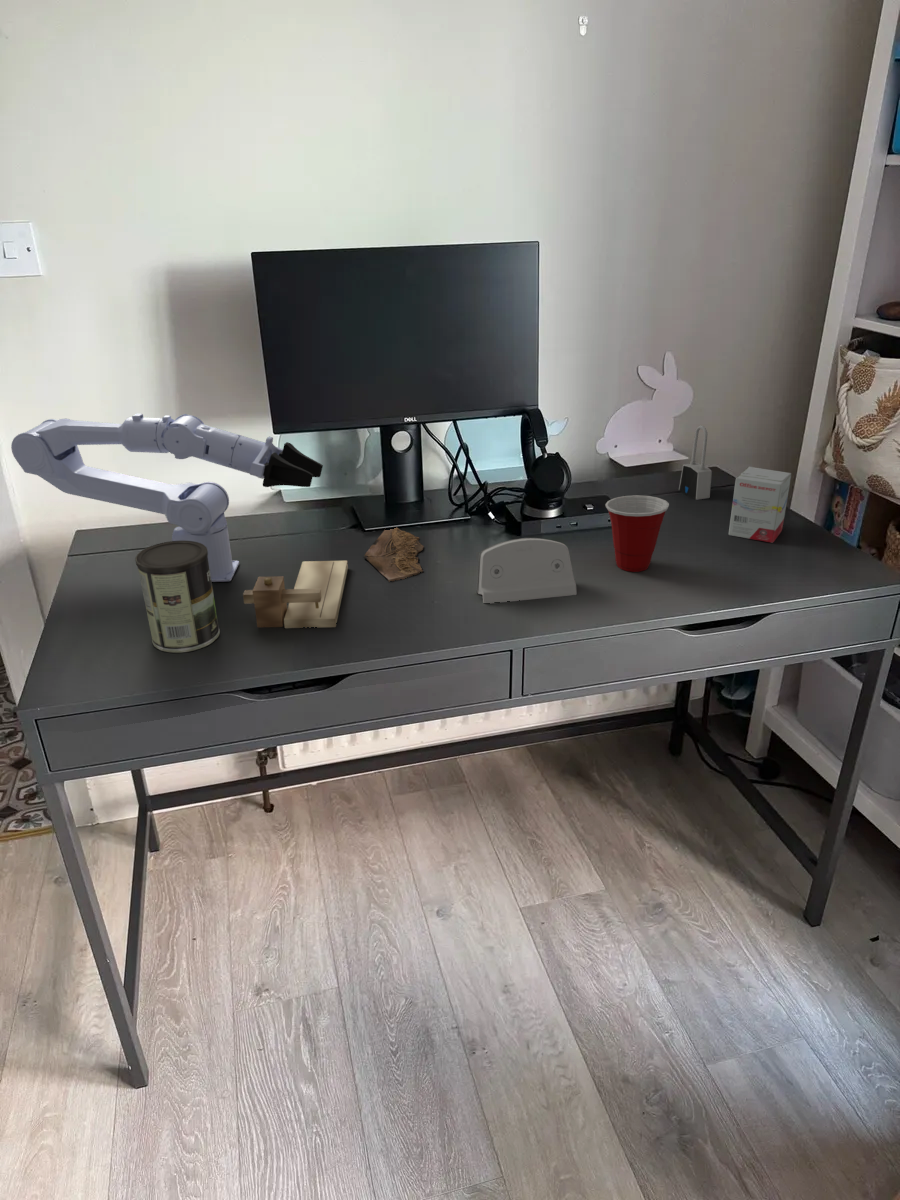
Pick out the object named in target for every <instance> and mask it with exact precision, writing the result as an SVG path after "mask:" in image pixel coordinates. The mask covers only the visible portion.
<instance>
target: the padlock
mask: <svg viewBox="0 0 900 1200" xmlns="http://www.w3.org/2000/svg"><path fill="white" fill-rule="evenodd" d="M700 430H702V432H703V442H702V444H703V445H702V452H701V461H700V462H701V463H699V462H696V455H697V444H698V438H699V437H698V436H699V432H700ZM707 443H708V429H706V427H705V426H704V425H698V426H697V427H696V429H695V432H694V438H693V445H692V455H691V460H690V463H685V464H683V465H682V469H681V474H680V480H679V486H678V491H680V492H681V493H682V494H683V495H686V496H687V497H690V498H692V499H694V500H696V501H697V500H702V499H703V500H704V499H705V500H706V499H709V498H710V496H711V487H712V486H711V485H712V484H711V483H712V474H713V473H712V472H713V471H712V470H711V468H709V467H708V466H706V465H705V461H706V453H707V445H708V444H707Z"/></svg>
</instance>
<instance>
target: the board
mask: <svg viewBox="0 0 900 1200" xmlns="http://www.w3.org/2000/svg"><path fill="white" fill-rule="evenodd" d="M348 570H349V566H348V560H315V561H313V560H311V561H309V560H308V561H305V560H304V561H302V562H301V565H300V569H299V570H298V571H299V572H298V575H297V578H296V581H295V584H294V588H293V589H321V597H322V598H321V602H318V604H319V608H316V606H315V602H305V603H288V605H287V612H286V615H285V618H284V625H283V626H284V628H285V629H300V628H301V629H302V628H303V627H305V628H303V629H307V627H309V628H311V627H314V629H315V627H317V628H336V627H337V624H336V623H337V622H338V619H339V613H340V607H341V604H342V600H343V599H342V598H343V594H344V589H345V584H346V579H347V576H348V575H347V574H348ZM309 628H308V629H309Z"/></svg>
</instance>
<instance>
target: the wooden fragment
mask: <svg viewBox="0 0 900 1200" xmlns="http://www.w3.org/2000/svg"><path fill="white" fill-rule="evenodd" d="M419 540H420V537H418V536H415V535H414V534H412V533H411V532H409V531H408V532H407V531H405V530H401V529H400V528H398V527H396V528H394V529H390V530H385V529H384V530H383V531H382V532H381V534H380V535H379V536H378V538H376V539H375V540H374V542H373V543H372V544H371V545H370V547H369V548H368V550H367V551H366V552H365V554H364V556H363V559H366V560H367V562H368V563H370V564H371V565H372V566H373V567H374V568H375V569H376V570H377V571H378V572H379V573H380V574H381V575H382V576H383V577H385V578H386V579H387V581H388V583H391V582H390V581H392V582H396V581H401V580H400V579H402V580H406V579H408V578H411V577H414V576H417V575H419V574H420V572H421V573H424V570H423V568H422V566H421V564H420V563H419V559H420V558H419V557H417V555H418V554H420V553H421V552H422V551H423V550H424V545H423V544H422V543H421V542H420V541H419ZM413 575H414V576H413ZM407 577H408V578H407ZM405 578H406V579H405ZM395 580H396V581H395Z"/></svg>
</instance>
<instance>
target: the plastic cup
mask: <svg viewBox="0 0 900 1200" xmlns="http://www.w3.org/2000/svg"><path fill="white" fill-rule="evenodd" d="M604 505H605V508H606V509H607V511H608V515H609V519H610V524H611V534H612V543H613V548H614V558H615V563H616V566H617V568H619V569H620V570H623V571H625V572H632V573H635V572H637V573H639V572H643V571H646V570H648V568H649V566H650V564H651V562H652V558H653V553H654V552H655V549H656V545H657V542H658V537H659V534H660V530H661V527H662V523H663V521H664V517H665V515H666V512H667V510H668V509H669V506H670V502H668V501H667V500H665V499H663V498H660V497H656V496H651V495H638V494H637V495H636V494H635V495H625V496H624V495H622V496H618V497H614V498H612V499H610V500H607V502H606V503H605V504H604Z"/></svg>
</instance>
